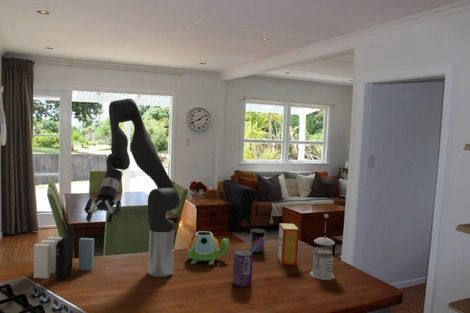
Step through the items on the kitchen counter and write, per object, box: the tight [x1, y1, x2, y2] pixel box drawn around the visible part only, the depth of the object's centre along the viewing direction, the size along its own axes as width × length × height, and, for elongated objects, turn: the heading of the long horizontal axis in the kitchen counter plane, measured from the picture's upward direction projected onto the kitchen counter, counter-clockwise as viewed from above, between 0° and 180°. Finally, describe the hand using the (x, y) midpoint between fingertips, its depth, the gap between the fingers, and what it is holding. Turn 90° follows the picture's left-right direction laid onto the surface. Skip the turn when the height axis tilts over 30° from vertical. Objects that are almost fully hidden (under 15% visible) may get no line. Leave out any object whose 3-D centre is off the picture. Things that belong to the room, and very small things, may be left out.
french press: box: [309, 213, 336, 281], centre depth 150 cm, size 10×12×25 cm
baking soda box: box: [277, 222, 300, 266], centre depth 165 cm, size 10×6×16 cm
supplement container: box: [249, 228, 266, 255], centre depth 175 cm, size 7×7×10 cm
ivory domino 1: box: [33, 243, 51, 280], centre depth 136 cm, size 2×5×12 cm, turn 89°
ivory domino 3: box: [40, 239, 57, 275], centre depth 141 cm, size 2×5×12 cm, turn 89°
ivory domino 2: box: [46, 236, 63, 242], centre depth 145 cm, size 2×5×12 cm, turn 89°
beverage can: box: [231, 249, 254, 288], centre depth 139 cm, size 7×7×12 cm
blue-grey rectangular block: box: [78, 237, 95, 271], centre depth 146 cm, size 2×5×12 cm, turn 89°
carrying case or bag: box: [55, 234, 74, 281], centre depth 137 cm, size 11×3×15 cm, turn 1°
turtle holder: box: [187, 230, 230, 265], centre depth 162 cm, size 12×18×12 cm
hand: (98, 222), depth 156 cm, fingers open, 8 cm apart
